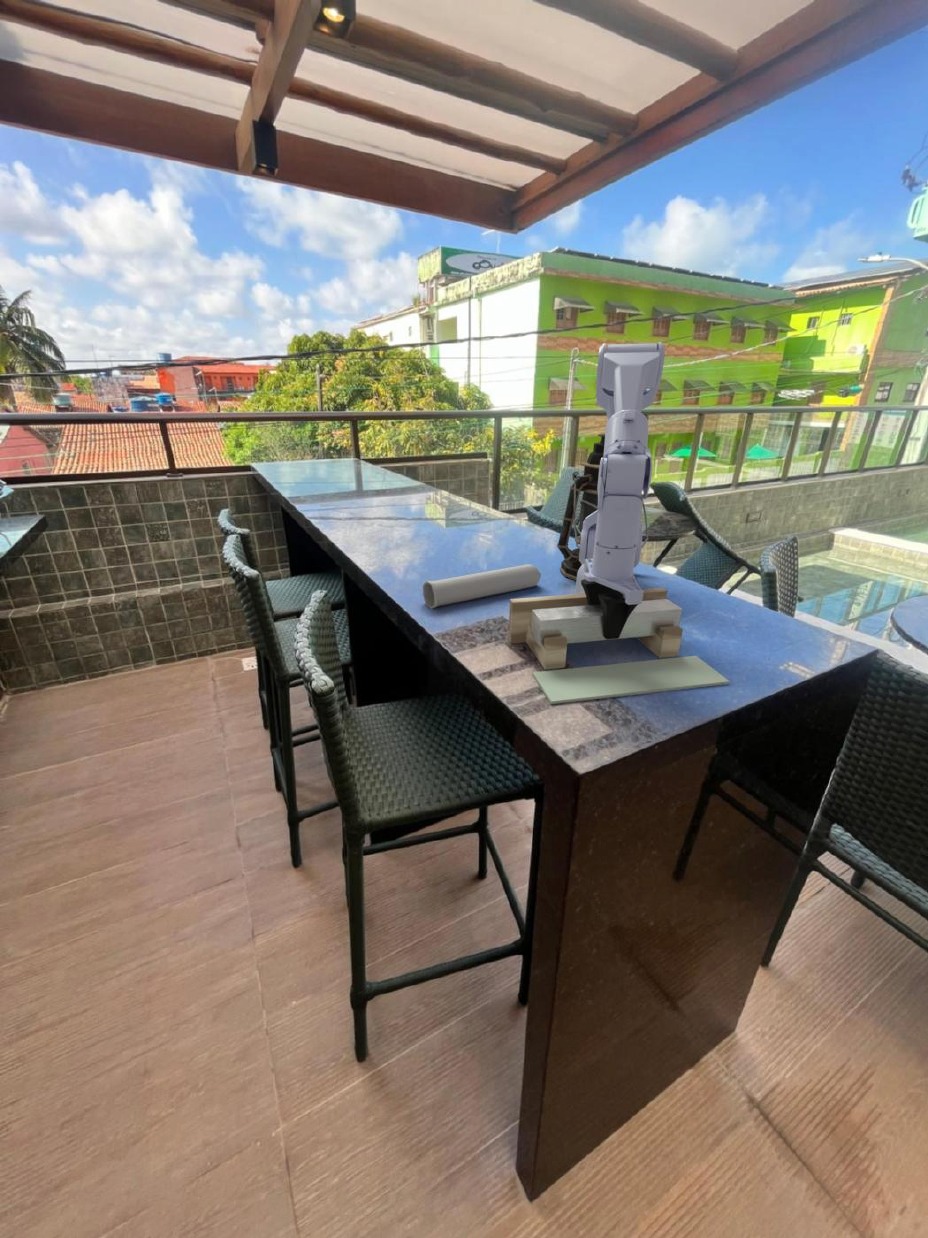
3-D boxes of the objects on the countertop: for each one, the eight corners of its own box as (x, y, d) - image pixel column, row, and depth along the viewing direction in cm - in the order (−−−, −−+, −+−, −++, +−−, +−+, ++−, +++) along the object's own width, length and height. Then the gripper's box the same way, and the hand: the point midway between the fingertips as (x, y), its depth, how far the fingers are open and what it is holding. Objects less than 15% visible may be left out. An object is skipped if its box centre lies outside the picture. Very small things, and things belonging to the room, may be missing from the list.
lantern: (613, 558, 121) (630, 425, 109) (657, 579, 108) (681, 429, 96) (538, 567, 115) (547, 426, 103) (574, 590, 102) (589, 431, 90)
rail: (530, 634, 76) (531, 609, 75) (663, 622, 80) (667, 599, 79) (539, 646, 73) (540, 620, 71) (677, 633, 77) (682, 608, 75)
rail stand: (508, 639, 81) (510, 599, 79) (655, 626, 86) (662, 587, 83) (528, 671, 72) (531, 626, 69) (692, 654, 77) (701, 612, 74)
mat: (532, 674, 71) (532, 672, 71) (695, 658, 76) (695, 655, 75) (551, 704, 64) (551, 701, 64) (728, 683, 69) (729, 681, 69)
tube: (528, 562, 107) (420, 581, 95) (543, 560, 102) (432, 580, 90) (531, 587, 107) (425, 609, 96) (547, 587, 103) (437, 609, 91)
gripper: (568, 532, 76) (561, 614, 82) (612, 560, 64) (600, 655, 69) (612, 529, 78) (602, 611, 83) (663, 557, 65) (648, 651, 70)
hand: (604, 631), depth 76 cm, fingers closed on rail, 4 cm apart
